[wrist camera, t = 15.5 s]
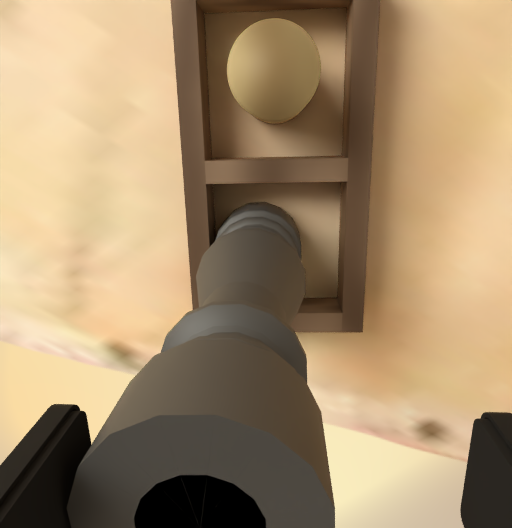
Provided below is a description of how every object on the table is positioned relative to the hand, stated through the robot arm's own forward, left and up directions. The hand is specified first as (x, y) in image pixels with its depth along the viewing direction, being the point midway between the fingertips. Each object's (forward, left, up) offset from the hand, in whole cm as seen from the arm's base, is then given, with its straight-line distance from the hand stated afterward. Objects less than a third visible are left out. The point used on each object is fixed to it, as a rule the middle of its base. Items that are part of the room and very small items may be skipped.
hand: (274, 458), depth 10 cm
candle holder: (+2, 0, -24) cm, 24 cm away
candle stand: (0, -5, -23) cm, 24 cm away
